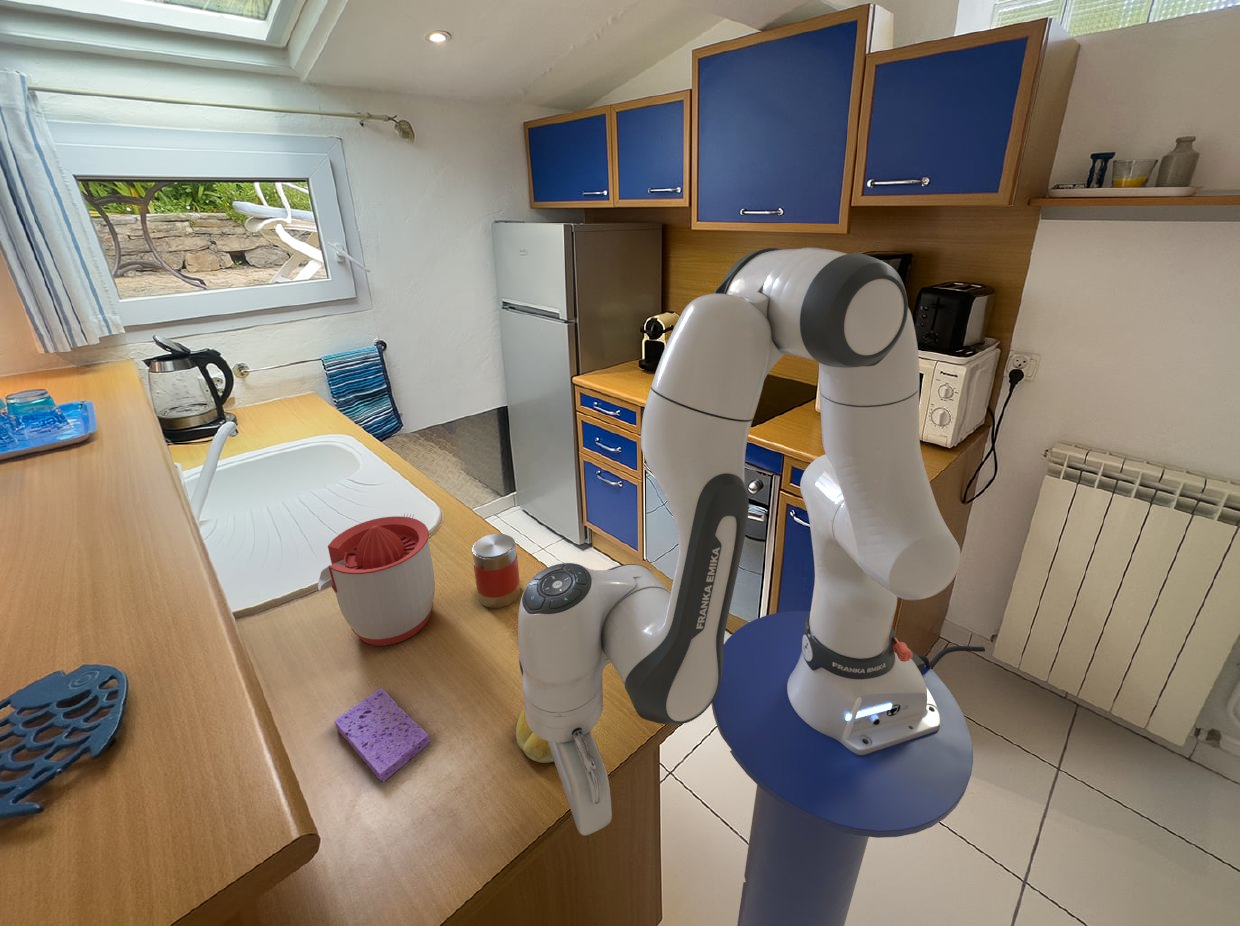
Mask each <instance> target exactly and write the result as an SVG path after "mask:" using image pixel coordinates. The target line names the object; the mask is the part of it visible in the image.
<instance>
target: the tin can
mask: <svg viewBox="0 0 1240 926" xmlns="http://www.w3.org/2000/svg"><path fill="white" fill-rule="evenodd" d="M471 551H472V559H473V560H472V563H473V570H474V571H473V572H474V578H475V585H476V591H477V596H478V602H479V603H480V604H481V605H482V606H484V607H486V608H489V609H500V608H501V609H502V608H505V607H508V606H510V605H512V604H513V603H514V602H516V600H517V599H518V598H519V596H520V594H521V587H520V586H521V585H520V582H521V581H520V570H519V559H518V552H517V545H516V540H515V539H514V537H512V536H510V535H508V534H505V533H492V534H487V535H484V536H482V537H481V538H479V539H478V540H476V541H475V542H474V544H473V545H472V548H471Z"/></svg>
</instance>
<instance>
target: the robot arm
mask: <svg viewBox="0 0 1240 926" xmlns="http://www.w3.org/2000/svg"><path fill="white" fill-rule="evenodd" d="M908 302H909V301H908V295H907V291H906V288H905V285H904V282H903V280H902V277H901V276H900V274H899V273H898V272H897V270H896V269H895V268H894V267H893V266H891V265H890V264H888V263H887V262H885V261H883V260H880V259H878V258H876V257H873V256H870V255H867V254H863V253H859V252H851V253H846V252H842V251H838V250H834V249H833V250H832V249H829V248H822V247H820V248H819V247H810V246H807V247H802V248H785V249H781V248H777V247H769V248H768V247H767V248H762V249H759V250H755V251H752V252H749V253H748V254H746V255H743V256H742V257H741V258H739V259H738V260H737V261H736V262H735V263H734V264H733V265H732V267H730V269H729V270H728V272H727V273H726V274H725V276H724V278H723V280H722V282H721V284H720V285H719V286H718V287H717V288H716V289H715V291H714V292H713V293H708V294H705V295H700V296H698V297H696V298H694V299H692V300H691V301H690V302H689V303H688V304H686V306H685V307H684V309H683V310H682V312H681V314H680V316H679V318H678V320H677V321H676V323H675V325H674V327H673V329H672V331H671V334H670V336H669V337H668V340H667V342H666V345H665V347H664V349H663V352H662V354H661V357H660V359H659V362H658V365H657V367H656V370H655V373H654V377H653V380H652V382H651V385H650V389H649V393H648V396H647V399H646V402H645V405H644V410H643V414H642V419H641V431H640V449H641V452H642V455H643V458H644V460H645V462H646V465H647V466H648V469H649V470H650V472H651V473H652V476H653V477H654V479H655V480H656V482H657V484H658V486H659V488H660V490H661V492H662V494H663V495H664V498H665V500H666V502H667V505H668V507H669V509H670V511H671V514H672V517H673V520H674V524H675V527H676V533H677V539H678V540H677V541H678V555H677V561H676V564H675V570H674V574H673V580H672V585H671V590H669V589H668V588H667V587H666V586H665V585H664V583H663V582H662V581H661V580H660V578H658V577H657V576H656V574H654V572H652V570H651V569H649V568H648V567H646V566H645V565H641V564H638V563H626V564H619V565H617V566H614V567H610V568H608V569H601V570H598V569H592V568H589V567H587V566H584V565H582V564H579V563H575V562H562V563H557V564H552V565H551V566H548V567H546V568H544V569H542V570H540V571H539V572H537V574H535V575H534V576H533V577H532V578H531V579H530V580H529V582H528V584H526V587H525V588H524V590H523V592H522V596H521V598H520V602H519V606H518V615H517V616H518V617H517V642H518V643H517V644H518V645H517V646H518V664H519V671H520V674H521V686H522V698H523V699H522V700H523V707H524V708H523V709H525V718H526V722H527V724H528V726H529V728H530V730H531V731H532V732H533V733H534V734H535V735H536V736H538V737H539V738H541V739H543V740H546V741H548V744H549V747H550V750H551V753H552V756H553V759H554V761H553V763H554V765H555V768H556V771H557V774H558V776H559V780H560V783H561V785H562V789H563V791H564V794H565V797H566V800H567V803H568V806H569V809H570V811H571V815H572V817H573V820H574V823H575V826H576V829H577V831H578V834H580V835H581V836H584V837H585V836H586V837H587V836H589V835H591V834H594V833H597V832H598V831H600V830H601V829H604V828H605V827H607V826H608V825H609V824H610V823H611V822H612V819H613V811H612V810H613V809H612V798H611V788H610V781H609V775H608V773H607V769H606V765H605V764H604V760H603V758H602V755H601V753H600V750H599V749H598V745H597V743H596V741H595V739H594V737H593V736H594V735H593V734H592V730H593V729H594V728H595V726H596V725H597V724H598V722H599V720H600V718H601V716H602V713H603V710H604V689H603V688H604V687H603V686H604V685H603V683H604V682H603V681H604V680H603V672H604V669H605V667H606V666H607V665H609V664H611V665H612V666H613V668H614V670H615V671H616V673H617V676H619V678H620V680H621V681H622V683H623V685H624V689H625V691H626V693H627V695H628V697H629V699H630V702H631V704H632V705H633V709H634V710H635V712H636V713H637V714H636V715H638V716H639V717H640V718H641V719H643V720H645V721H648V722H652V723H656V724H661V725H671V726H672V725H684V724H687V723H690V722H693V721H694V720H696V719H698V718H699V717H700V716H701V715H702V714H704V713H705V712H706V711H707V709H709V707H710V706H712V704H711V703H712V702H713V700H714V698H715V696H716V694H717V692H718V689H719V686H720V683H721V678H722V673H723V663H724V643H725V636H726V635H725V634H726V629H727V623H728V619H729V615H730V611H731V610H730V609H731V604H732V600H733V597H734V590H735V586H736V581H737V576H738V573H739V567H740V562H741V558H742V552H743V548H744V543H745V538H746V533H747V527H748V520H749V511H750V510H749V509H750V508H749V507H750V502H749V494H748V490H747V487H746V478H745V465H746V463H745V462H746V452H747V451H746V450H747V444H748V440H749V439H748V438H749V435H750V431H751V430H750V429H751V427H752V424H753V420H754V418H755V415H756V411H757V408H758V405H759V403H760V398H761V396H762V391H763V387H764V382H765V379H766V378H767V376H768V374H769V373H770V371H771V370H772V369H773V367H775V365H776V364H777V363H778V362H779V361H780V360H781V359H782V358H783V357H784V356H785V355H786V356H794V357H798V358H801V359H805V360H812V361H816V362H818V392H819V393H818V394H819V408H820V409H819V410H820V424H821V425H820V426H821V441H822V446H823V451H824V453H825V454H821V455H820V456H818V457H817V458H815V459H813V461H812V462H810V464H808V465H807V467H806V468H805V470H804V471H803V473H802V476H801V478H800V484H799V489H800V493H801V496H802V500H803V503H804V505H805V508H806V511H807V516H808V521H809V528H810V536H811V538H810V539H811V545H812V554H813V563H814V564H813V566H814V584H813V591H812V599H811V606H810V610H809V611H810V612H809V614H808V616H807V619H806V623H805V628H804V634H803V639H802V653H801V655H800V658H799V661H798V663H797V665H796V667H795V669H794V670H793V672H792V673H791V675H790V677H789V679H788V683H787V693H788V697H789V700H790V703H791V705H792V707H793V708H794V710H795V711H796V713H797V714H798V715H799V716H800V717H801V718H802V719H803V720H804V721H805V722H806V723H807V724H808V725H809V726H811V727H812V728H814V729H815V730H817V731H819V732H820V733H822V734H824V735H827V736H829V737H831V738H834V739H836V740H838V741H839V742H840V743H842V744H843V745H844V746H845V747H846V748H848V749H849V750H850V751H852V752H853V753H855V754H857V755H865V754H868V753H871V752H874V751H877V750H880V749H883V748H886V747H889V746H892V745H896V744H899V743H902V742H905V741H908V740H911V739H914V738H917V737H920V736H923V735H926V734H929V733H932V732H935V731H937V730H939V729H940V714H939V710H938V707H937V705H936V703H935V701H934V699H933V697H932V695H931V693H930V692H929V690H928V689H927V687H926V684H925V681H924V679H923V676H922V673H923V669H924V666H926V667H928V668H931V669H932V668H934V666H936V665H937V664H938V663H939V662H940V661H941V659H943V657H945V656H946V655H947V654H950V653H953V652H954V653H955V652H973V653H975V652H976V653H983V652H986V648H985V647H984V646H970V645H955V646H949V647H946V648H944V649H942V650H940V651H939V652H937V654H936V655H935V656H934V657H933V658H932V659H931V660H929V658H928V657H927V656H925V655H921V654H916V652H914V650H912V649H911V648H910V647H909V646H908V645H907V644H906V643H905V642H904V641H903V640H901V641H899V640H898V637H897V633H896V632H895V630H894V629H893V628H892V627H893V622H894V619H895V614H896V610H897V606H898V598H899V599H901V600H904V601H905V600H906V601H919V600H924V599H928V598H931V597H934V596H936V595H938V594H939V593H941V592H942V591H944V590H945V589H946V588H947V587H948V586H949V585H950V584H951V583H952V582H953V580H954V579H955V577H956V575H957V573H958V571H959V568H960V564H961V557H962V554H961V548H960V545H959V543H958V541H957V540H956V538H955V537H954V536H953V534H952V532H951V531H950V529H949V527H948V525H947V524H946V522H945V520H944V518H943V515H942V514H941V512H940V509H939V507H938V504H937V501H936V498H935V495H934V493H933V489H932V486H931V482H930V480H929V476H928V472H927V469H926V467H925V462H924V458H923V455H922V447H921V441H920V385H921V384H920V356H919V347H918V340H917V335H916V334H917V333H916V329H915V328H916V327H915V324H914V320H913V314H912V312H911V309H910V308H909V303H908ZM930 710H931V711H932V712H931V711H930ZM863 742H865V743H867V744H864V743H863Z"/></svg>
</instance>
